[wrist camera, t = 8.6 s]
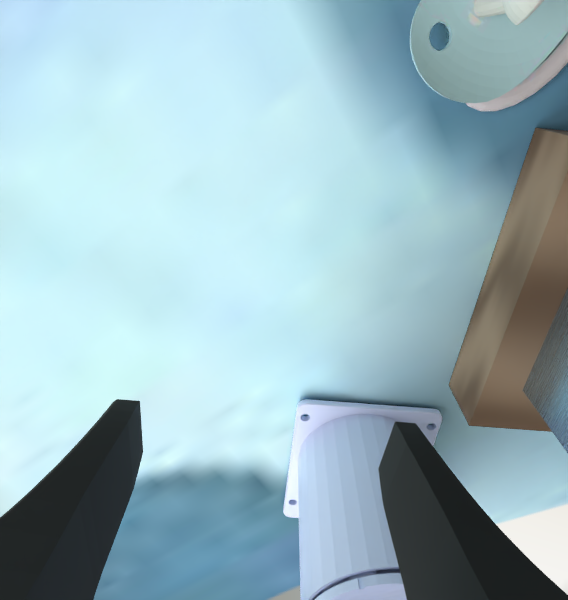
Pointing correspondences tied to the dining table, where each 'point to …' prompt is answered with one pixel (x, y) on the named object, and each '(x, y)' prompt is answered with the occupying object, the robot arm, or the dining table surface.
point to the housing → (552, 376)
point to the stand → (518, 293)
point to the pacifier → (490, 49)
